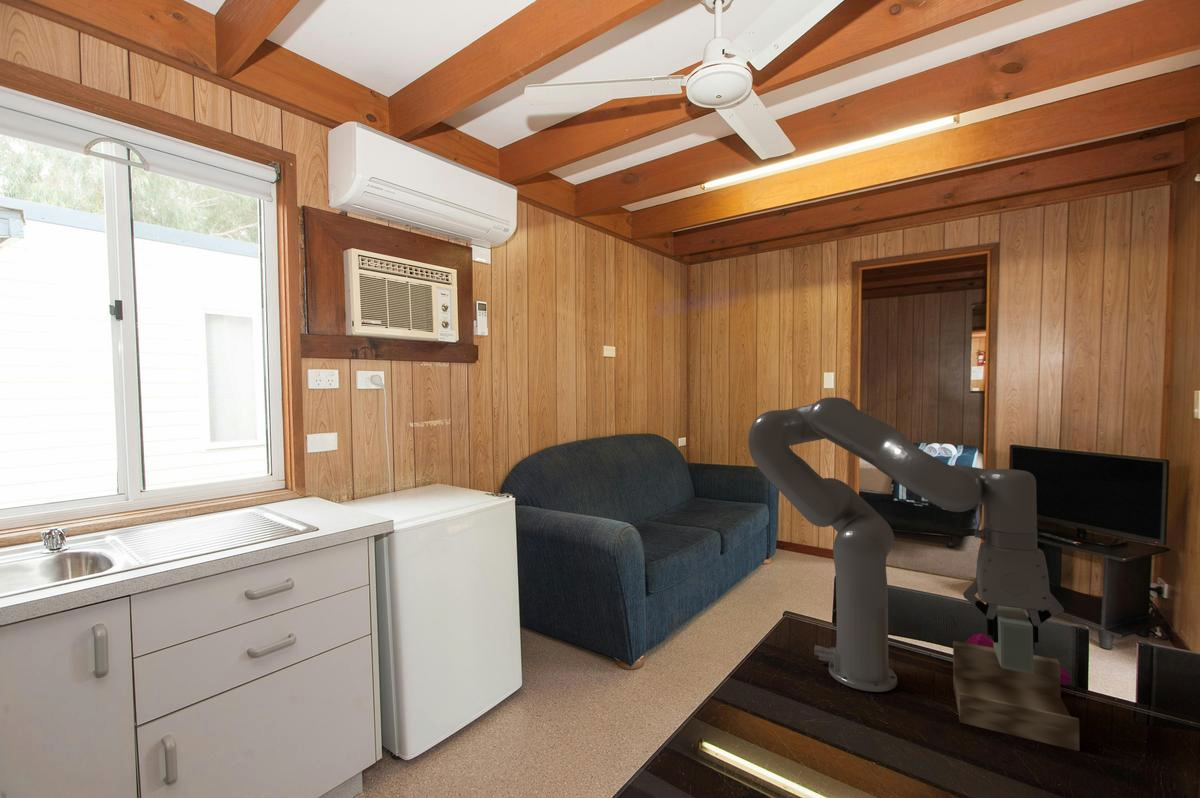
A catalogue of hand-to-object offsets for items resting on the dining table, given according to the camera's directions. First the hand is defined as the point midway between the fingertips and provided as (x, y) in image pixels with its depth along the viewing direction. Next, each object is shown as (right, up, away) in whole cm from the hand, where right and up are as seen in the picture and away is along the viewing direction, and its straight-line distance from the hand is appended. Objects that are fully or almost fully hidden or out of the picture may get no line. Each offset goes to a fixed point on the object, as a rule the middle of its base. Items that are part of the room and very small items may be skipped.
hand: (1012, 641), depth 95 cm
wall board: (0, -14, +1) cm, 14 cm away
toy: (+10, -14, +12) cm, 21 cm away
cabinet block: (0, -3, 0) cm, 3 cm away
